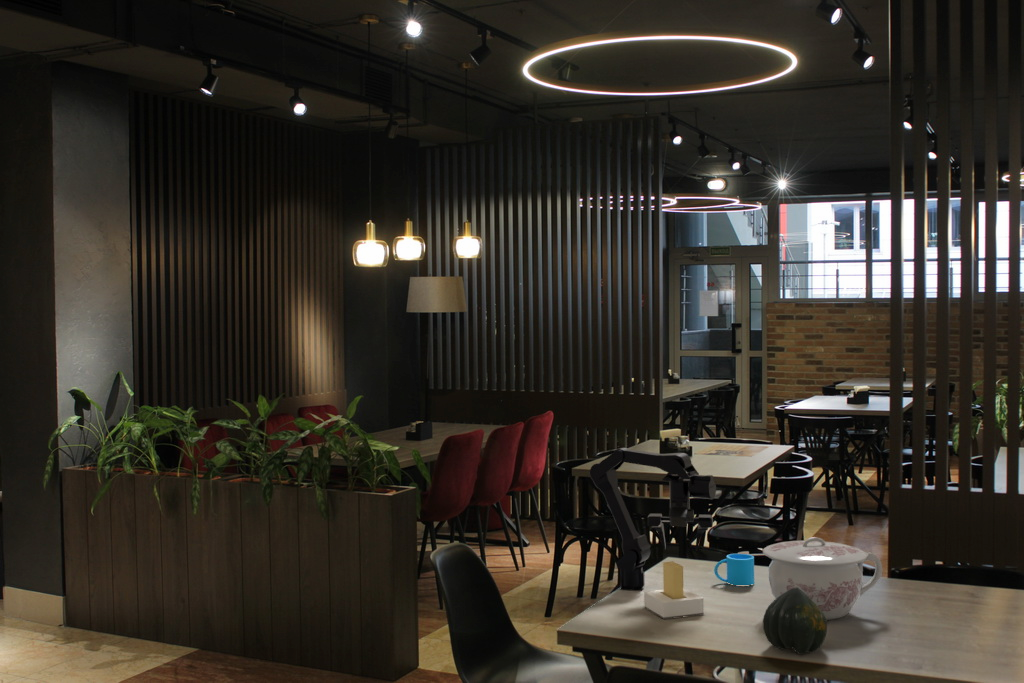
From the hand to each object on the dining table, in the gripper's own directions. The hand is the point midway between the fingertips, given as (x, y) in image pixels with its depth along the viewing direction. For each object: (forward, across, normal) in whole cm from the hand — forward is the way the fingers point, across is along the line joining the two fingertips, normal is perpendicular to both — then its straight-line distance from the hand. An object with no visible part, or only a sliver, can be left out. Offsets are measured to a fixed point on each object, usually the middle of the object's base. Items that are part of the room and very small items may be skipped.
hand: (680, 549), depth 294 cm
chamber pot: (+13, +37, -14) cm, 42 cm away
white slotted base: (+13, -1, -18) cm, 22 cm away
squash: (+13, +30, -45) cm, 56 cm away
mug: (+13, +15, +15) cm, 25 cm away
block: (+12, -1, -18) cm, 22 cm away
